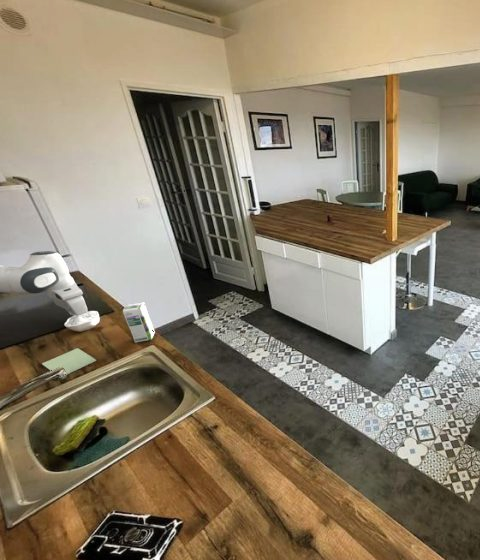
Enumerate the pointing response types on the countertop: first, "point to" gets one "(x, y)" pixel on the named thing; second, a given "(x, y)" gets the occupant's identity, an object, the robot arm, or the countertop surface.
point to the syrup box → (139, 322)
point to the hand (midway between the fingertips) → (76, 317)
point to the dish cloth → (70, 361)
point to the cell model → (83, 321)
